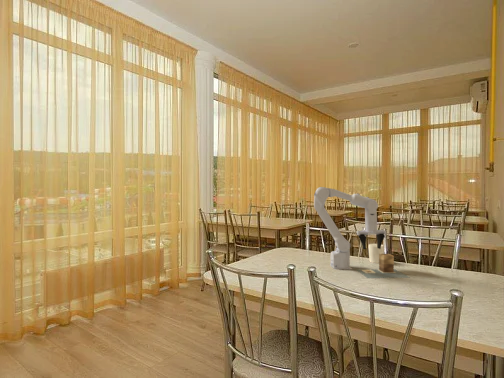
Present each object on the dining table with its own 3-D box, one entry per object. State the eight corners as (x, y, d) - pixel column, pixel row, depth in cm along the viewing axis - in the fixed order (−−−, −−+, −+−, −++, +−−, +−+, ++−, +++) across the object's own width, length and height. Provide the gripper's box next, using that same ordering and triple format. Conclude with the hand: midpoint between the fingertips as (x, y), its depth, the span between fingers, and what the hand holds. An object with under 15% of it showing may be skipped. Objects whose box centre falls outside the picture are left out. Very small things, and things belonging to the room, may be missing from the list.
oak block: (383, 264, 158) (383, 256, 158) (379, 261, 163) (379, 253, 163) (393, 264, 158) (393, 255, 158) (388, 261, 163) (388, 253, 163)
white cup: (381, 261, 183) (381, 243, 183) (385, 264, 175) (385, 246, 175) (366, 261, 184) (366, 243, 184) (370, 264, 176) (370, 246, 176)
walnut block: (383, 272, 158) (383, 264, 158) (379, 269, 163) (379, 261, 163) (393, 272, 158) (393, 264, 158) (388, 269, 163) (388, 261, 163)
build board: (367, 279, 149) (367, 278, 149) (355, 270, 164) (355, 269, 164) (410, 278, 149) (410, 277, 149) (394, 270, 164) (394, 268, 164)
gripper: (360, 223, 163) (360, 250, 163) (388, 222, 163) (389, 249, 164) (354, 222, 170) (355, 248, 170) (382, 221, 170) (382, 247, 171)
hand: (371, 248), depth 167 cm, fingers open, 7 cm apart
